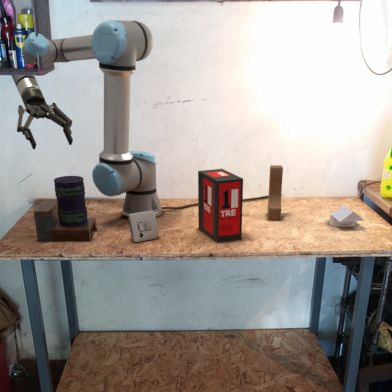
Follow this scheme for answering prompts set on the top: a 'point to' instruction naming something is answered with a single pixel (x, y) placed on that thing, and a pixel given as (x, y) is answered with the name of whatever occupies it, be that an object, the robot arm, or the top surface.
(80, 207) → the blue oil drum
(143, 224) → the electrical switch
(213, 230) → the cleaning product box
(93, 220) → the l-shaped metal base
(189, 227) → the top surface
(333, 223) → the wedge on round base
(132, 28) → the robot arm
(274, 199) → the wooden block
